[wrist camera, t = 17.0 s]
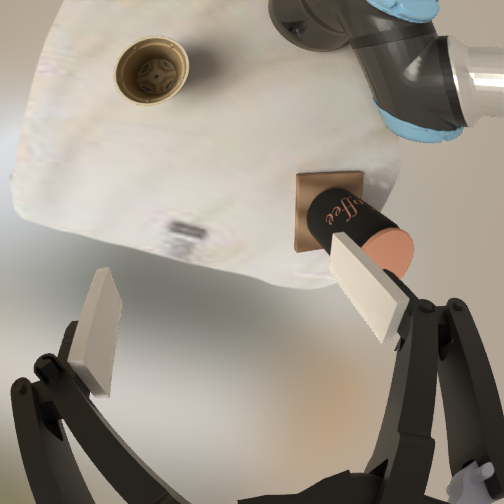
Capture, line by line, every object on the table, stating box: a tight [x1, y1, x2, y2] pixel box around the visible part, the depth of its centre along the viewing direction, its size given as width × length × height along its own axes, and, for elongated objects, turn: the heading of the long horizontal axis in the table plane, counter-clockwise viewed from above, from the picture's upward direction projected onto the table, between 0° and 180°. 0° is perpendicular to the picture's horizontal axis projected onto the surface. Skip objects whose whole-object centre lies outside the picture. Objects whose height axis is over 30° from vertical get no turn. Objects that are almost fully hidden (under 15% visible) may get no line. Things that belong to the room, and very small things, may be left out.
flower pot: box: [114, 36, 189, 106], centre depth 31 cm, size 9×9×9 cm
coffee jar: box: [306, 188, 414, 280], centre depth 44 cm, size 11×11×18 cm
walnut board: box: [294, 171, 363, 253], centre depth 52 cm, size 15×13×2 cm
